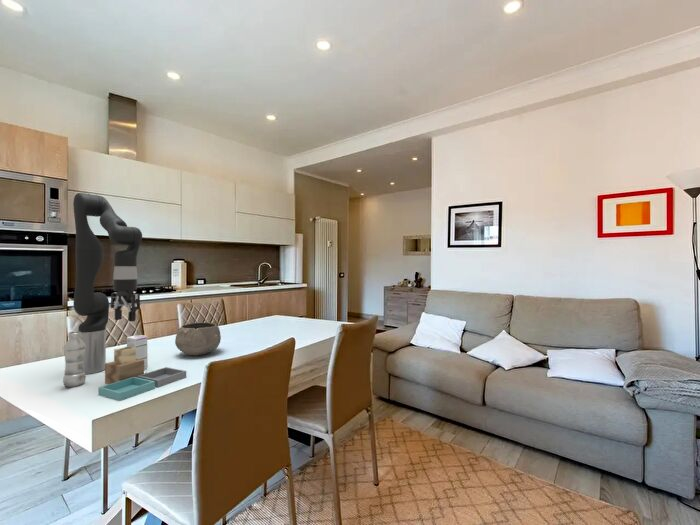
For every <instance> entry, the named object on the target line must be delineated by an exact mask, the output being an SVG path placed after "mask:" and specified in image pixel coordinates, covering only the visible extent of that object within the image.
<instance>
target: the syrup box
mask: <svg viewBox="0 0 700 525" xmlns="http://www.w3.org/2000/svg"><path fill="white" fill-rule="evenodd" d="M126 347H133V348H136V359H141V360H144V369H145V370H148V369H147V368H148V366H149V365H148V361H149V360H148V356H149V354H148V336H147V335H144V334H143V335H142V334H136V335H131V336H127V337H126Z"/></svg>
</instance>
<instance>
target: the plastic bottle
mask: <svg viewBox="0 0 700 525" xmlns="http://www.w3.org/2000/svg"><path fill="white" fill-rule="evenodd" d="M80 337H81V332H80V331H71V332H68V334H67V338H68V340H66V342H65V343H64V345H63V348H62V349H63V355H64V362H65V363H64V364H65V365H64V366H65V367H64V375H63V378H62V379H63V380H62V383H63V385H64V387H66V388H73V387H79V386H82V385H84V383H85V381H86V374H85V372H84V364H83V363H84V360H83V359H84V352H85V343H84V342H83V340H82V339H81V338H80Z"/></svg>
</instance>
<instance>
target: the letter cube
mask: <svg viewBox="0 0 700 525" xmlns="http://www.w3.org/2000/svg"><path fill="white" fill-rule="evenodd" d="M113 351H114V352H113V361H114V363H118V364H125V363H129V362H133V361H136V348H133V347H127V346H124V347H120V348H119V347H118V348H114V349H113Z"/></svg>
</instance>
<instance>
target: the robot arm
mask: <svg viewBox="0 0 700 525" xmlns="http://www.w3.org/2000/svg"><path fill="white" fill-rule="evenodd" d="M72 206H73V217H74V225H75V285H74V293H73V309H74V311H75V313H76V314H77V315H78V316H82V317H84V316H85V317H86V319H84V321H82V323H80V324H79V325H78V331H80V332H81V337H80V338H81V339H82V340H83V342H84V343H85V352H84V359H83V360H84V363H83V364H84V372H85V375H87V374H88V375H89V374H95V373H100V372H103V371H105V363H107V362H106V360H107V357H106V356H107V350H106V349H107V348H106V347H107V342H106V341H107V337H106V336H107V333H106V332H107V330H106V329H107V324H108V323H109V313H110V312H109V311H110V309H112V310H114V320H115V321H120V320H122V318H123V310H122V309H123V307H125V308H127V310H128V317H127V318H128V322H135V321H136V319H137V318H136V316H137V314H136V313H137V311H138V310H140V309H141V300H140V298H141V296H140V293H134V291H137V289H138V270H137V260H138V258H137V257H138V252H139V250H140V246H141V243H142V241H143V232H142V231H141V229H140V228H138V227H136V226H128V225H127V223H126V221H124V220H123V219H122V218H121V217H120V216H118V215H117V213H116V212H115V210H114V208H113V207H112V206H111V203H110V202H109V201H108V200H107V199H106V198H105V197H104V196H102V195H98V194H91V193H84V192H77V193H76V194H75V195H74V197H73V204H72ZM88 217H97V218H98V217H99V223H100V226H101V228H103V230H105V231H106V232H107V234H108V238H109V241H110V243H113V244H115V245H125V246H126V245H127V248H126V249H123V250H117V251H116V252H114V268H113V284H112V285H113V287H112V288H113V291H115V292H112V293H111V294H110V301H109V298H108V296H107V295H106V294H105V293H103V292H95V281H96V277H97V276H98V273H99V272H100V270H101V268H102V266H103V264H104V246H103V244H102V243H101V241H100V239H98V237H97V235H96V234H95V233H94V232H93V231H92V229H91V227H90V225H89V222H88Z"/></svg>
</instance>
